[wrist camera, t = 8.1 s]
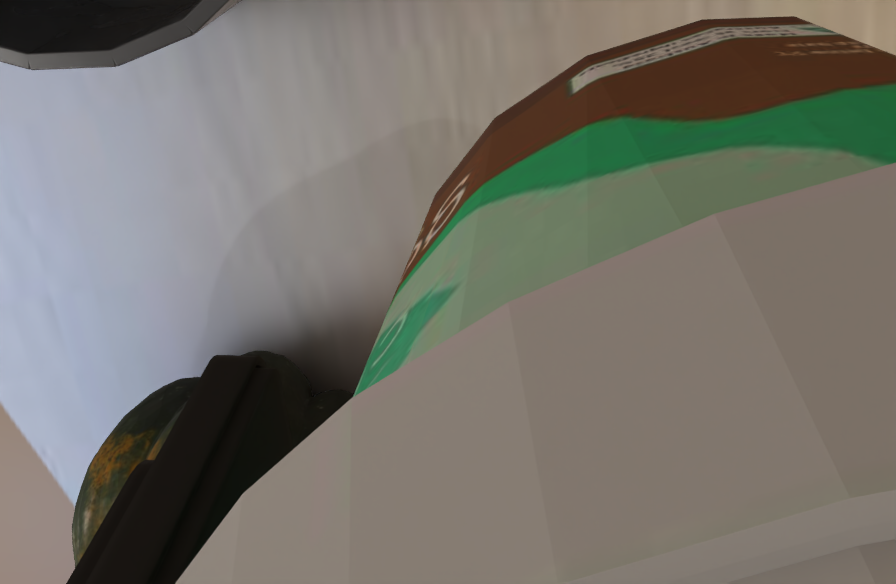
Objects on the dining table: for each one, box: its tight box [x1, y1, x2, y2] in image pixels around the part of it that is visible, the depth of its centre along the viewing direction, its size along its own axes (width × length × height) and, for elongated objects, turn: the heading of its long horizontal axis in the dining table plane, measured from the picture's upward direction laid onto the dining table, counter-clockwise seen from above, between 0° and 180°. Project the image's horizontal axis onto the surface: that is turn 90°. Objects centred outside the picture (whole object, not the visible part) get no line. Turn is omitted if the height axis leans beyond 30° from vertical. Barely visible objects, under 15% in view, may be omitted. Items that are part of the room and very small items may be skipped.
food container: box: [175, 16, 896, 584], centre depth 9 cm, size 12×6×10 cm, turn 178°
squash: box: [72, 351, 353, 568], centre depth 34 cm, size 14×15×15 cm
